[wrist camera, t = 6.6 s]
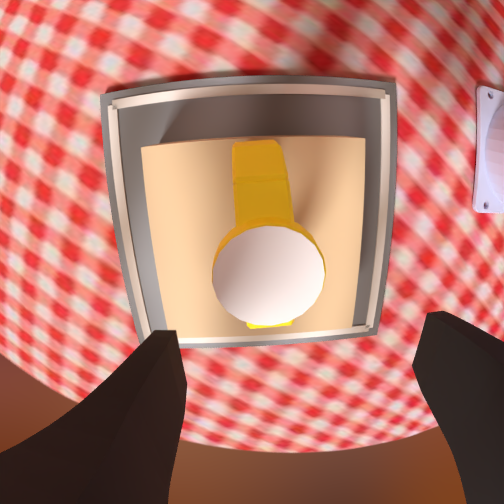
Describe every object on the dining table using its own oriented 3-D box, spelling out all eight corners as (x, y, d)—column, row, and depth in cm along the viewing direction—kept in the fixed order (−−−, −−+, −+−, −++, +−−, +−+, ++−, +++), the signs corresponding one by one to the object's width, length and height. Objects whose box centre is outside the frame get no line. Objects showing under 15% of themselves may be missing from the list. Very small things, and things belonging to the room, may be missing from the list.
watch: (293, 270, 14) (321, 367, 9) (230, 276, 14) (227, 376, 9) (288, 132, 12) (328, 156, 6) (215, 137, 12) (194, 167, 6)
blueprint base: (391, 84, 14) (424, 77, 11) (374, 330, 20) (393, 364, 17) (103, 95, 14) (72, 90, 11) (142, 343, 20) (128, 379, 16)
